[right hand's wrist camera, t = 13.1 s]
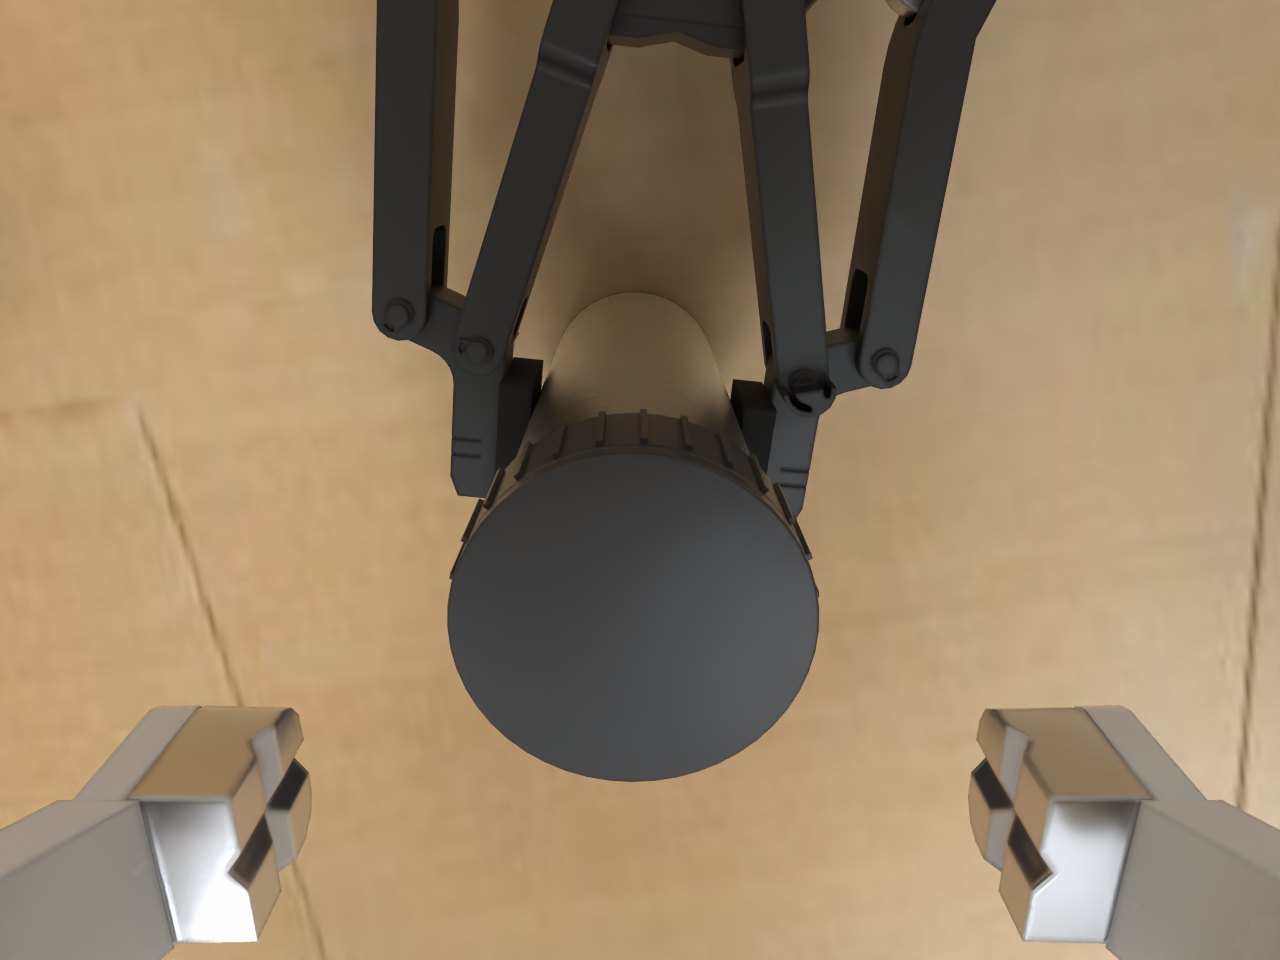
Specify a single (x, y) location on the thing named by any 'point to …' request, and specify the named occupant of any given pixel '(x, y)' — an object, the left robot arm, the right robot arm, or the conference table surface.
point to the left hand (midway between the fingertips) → (614, 614)
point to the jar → (634, 369)
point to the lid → (633, 599)
